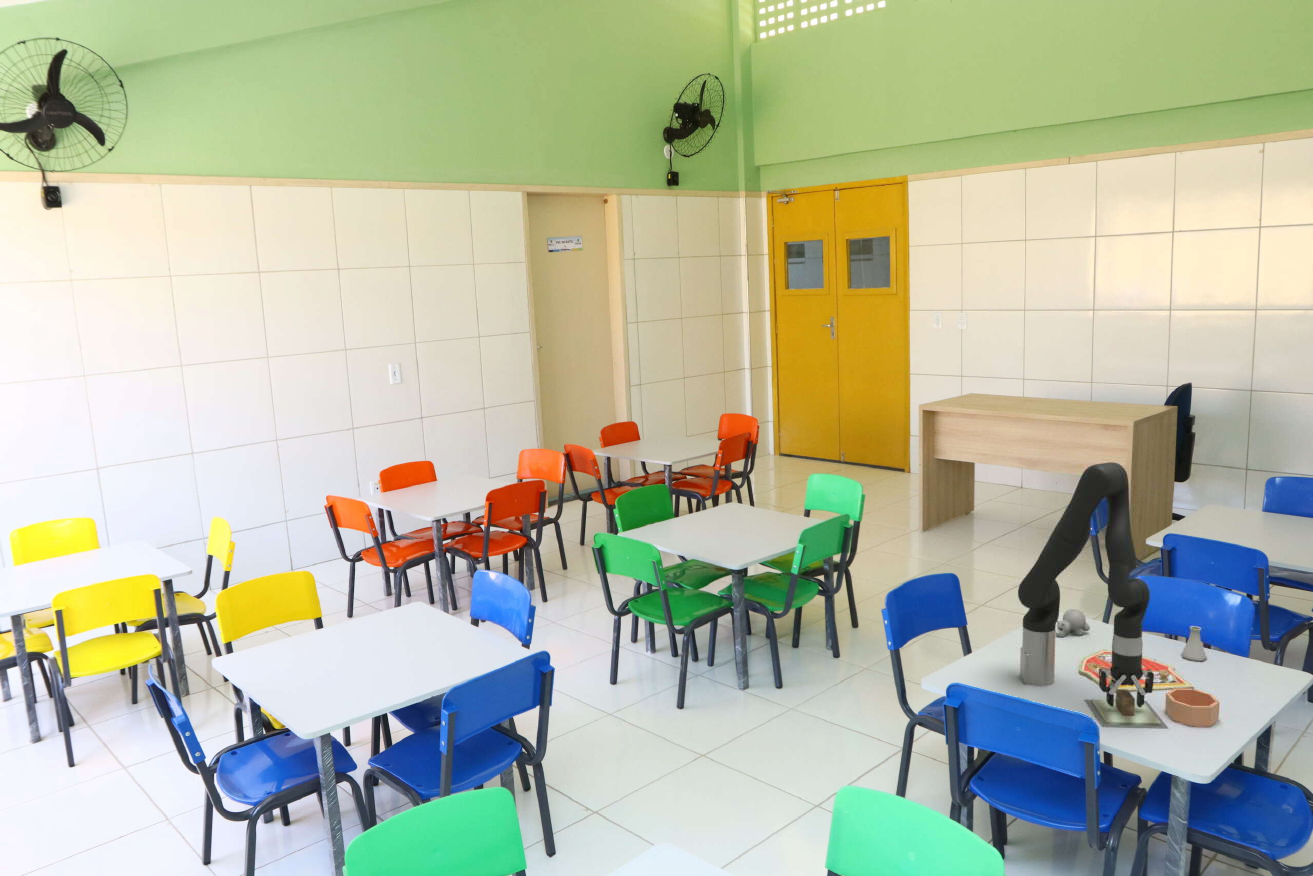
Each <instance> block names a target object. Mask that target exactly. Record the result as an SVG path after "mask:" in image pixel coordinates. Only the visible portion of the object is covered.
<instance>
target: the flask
mask: <svg viewBox="0 0 1313 876" xmlns="http://www.w3.org/2000/svg"><path fill="white" fill-rule="evenodd" d="M1189 629H1190V634H1189V637H1188V640H1187V642H1186V644H1185V646H1184V648H1183V649H1182V652H1181V653H1180V656H1181V657H1182V659H1185V660H1189V661H1191V662H1193V661H1194V662H1204V661H1206V660H1207V659H1208V658H1207V655H1206V652H1205V649H1204V647H1203V643H1202V640H1201V639H1202V638H1201V630H1202V628H1201V627H1200V626H1197V625H1196V626H1195V625H1190V626H1189Z"/></svg>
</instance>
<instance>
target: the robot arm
mask: <svg viewBox="0 0 1313 876" xmlns="http://www.w3.org/2000/svg"><path fill="white" fill-rule="evenodd" d="M1129 485H1130V483H1129V477H1128V474H1127V471H1126V469H1125V468H1124V466H1123V465H1121V464H1120V463H1117V462H1103V463H1097V464H1092V465H1090V466H1088V467H1087V468H1086V469H1085V470H1084V471H1083V472H1082V474H1081V476H1080V479H1079V481H1078V482H1077V486H1076V488H1075V489H1074V490H1075V491H1074V492H1073V495H1072V497H1071V499H1070V502H1069V503H1068V504H1067V507H1065V508H1066V509H1065V510H1064V512H1063V513H1062V515H1061V517H1060V519H1059V521H1058V522H1057V524H1056V525H1055V527H1054V529H1053V531H1052V533H1051V534H1050V536H1049V538H1048V540H1047V542H1046V544H1045V545H1044V547H1043V549H1042V550H1041V552H1040V554H1039V556H1038V558H1037V560H1036V561H1035V563H1034V564H1033V566H1032V567H1031V568H1030V570H1029V571H1028V573H1027V574H1026V575H1025V577H1024V578H1023V579H1022V580H1021V582H1020V584H1019V586H1018V589H1017V596H1018V600H1019V602H1020V603H1021V605H1022V606H1024V607H1025V608H1027V609H1028V611H1027V612H1026V613H1025V615H1024V616H1023V618H1022V643H1021V644H1022V647H1020V656H1019V657H1020V658H1019V659H1020V660H1019V661H1020V664H1019V665H1020V666H1019V667H1020V668H1019V670H1020V672H1019V677H1020V679H1021V680H1022V682H1023V684H1024V685H1032V686H1036V687H1037V686H1038V687H1049V686H1052V685H1053V684H1054V683H1055V675H1056V674H1055V668H1056V667H1055V666H1056V660H1055V659H1056V654H1055V653H1056V632H1055V630H1056V627H1057V620H1058V621H1059V616H1060V607H1061V606H1060V605H1061V603H1060V602H1061V589H1060V585H1059V583H1058V581H1057V578H1058V577H1059V575H1061V573H1062V572H1064V570H1066V569H1067V568H1068V567H1070V565H1071V564H1072V563H1073V562H1074V561H1075V560H1076V559H1077V557H1078V556H1079V555H1080V554H1081V553H1082V551H1083V550H1084V547H1085V546H1086V545H1087V543H1088V540H1089V539H1090V536H1091V532H1092V531H1091V530H1092V517H1093V515H1094V513H1095V511H1096V509H1097V508H1098V506H1099V504H1100V503H1101V502H1102V501H1103V500H1104V499H1106V500H1105V501H1106V505H1107V510H1108V511H1107V512H1108V513H1107V523H1106V527H1105V534H1104V545H1105V550H1106V551H1105V552H1106V556H1107V560H1108V578H1107V593H1108V597H1109V598H1110V599H1109V600H1110V601H1111V603H1112V604H1114V605H1115V606H1116V607H1118V608H1122V609H1121V610H1120V611H1119V612H1117V613H1116V614H1115V615H1114V617H1113V618H1114V619H1113V635H1112V641H1111V651H1112V666H1111V668H1110V670H1103V669H1099V685H1098V686H1099V688H1100V690H1101V691H1102V692H1103V693H1106V698H1105V700H1106V701H1107V703H1108V704H1109V705H1110V706H1111V707H1113V706H1114V700H1115V695H1114V694H1115V693H1114V692H1115V690H1116V689H1118V688H1119V686H1120V685H1130V686H1133V685H1135V686H1136V688H1137V690H1138V692H1136V700H1137V702H1136V703H1137V706H1138V707H1142V705H1144V701H1145V695H1146V694H1152V693H1153V691H1152V690H1153V681H1154V674H1153V672H1152V671H1151V670H1149V669H1148V670H1147V671H1144V670H1142V656H1143V644H1144V643H1143V621H1144V618H1145V616H1146V613H1147V610H1148V605H1149V603H1150V597H1151V592H1150V588H1149V586H1148V584H1147V583H1146V581H1144V580H1143V579H1141V578H1138V577H1135V578H1130V574H1131V572H1132V571H1134V570H1135V569H1136V568H1137V567H1138V560H1137V556H1136V551H1135V546H1134V541H1133V535H1132V527H1131V515H1130V514H1131V513H1130V491H1129V490H1130V488H1129ZM1110 674H1111V675H1112V676H1113V678H1112V679H1111V680H1110V683H1109V685H1108V686H1107V684H1106V678H1108V676H1109V675H1110ZM1143 675H1144V677H1145V678H1146V679H1145V687H1143V688H1142V686H1141V684H1140V683H1139V681H1138V680H1139V679H1140V678H1141V677H1142V676H1143Z"/></svg>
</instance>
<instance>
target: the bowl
mask: <svg viewBox="0 0 1313 876" xmlns="http://www.w3.org/2000/svg"><path fill="white" fill-rule="evenodd" d="M1164 712H1165V713H1166V714H1167V716H1168V718H1169V719H1171V720H1172V721H1173V722H1176V723H1179V724H1182V725H1185V726H1190V727H1197V728H1206V727H1207V728H1208V727H1212V726H1214V725H1215V724H1216V723H1218V722H1219V717H1220V701H1219V700H1218V699H1217V697H1216V696H1214V695H1213V694H1211V693H1209V692H1205V691H1201V690H1199V689H1195V688H1194V689H1183V688H1174V689H1173V690H1168V692H1166V693H1165V708H1164Z"/></svg>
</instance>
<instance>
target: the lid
mask: <svg viewBox="0 0 1313 876" xmlns="http://www.w3.org/2000/svg"><path fill="white" fill-rule="evenodd" d="M1090 700H1091V703H1092V704H1093V706H1094V707H1095V709H1096V710H1097V712H1098V713H1099V715H1100V716H1101V718H1102V719H1103V721H1104V722H1105V724H1106V725H1143V726H1161V723H1160V721H1159V720H1158V719H1157V718H1156V716H1155V715H1154V714H1153V713H1152V711H1151V710H1150V709H1149V708H1148V706H1147V705H1146V704H1145V703H1144V705H1142V707H1138V706H1137V703H1136V702H1137V699H1135V697H1134V696H1133V695H1132V692H1129V691H1128V690H1120V689H1116V693H1115V699H1114V706H1113V707H1111V706H1110V705H1109V704H1108V703H1107V701H1106V699H1090Z"/></svg>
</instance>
